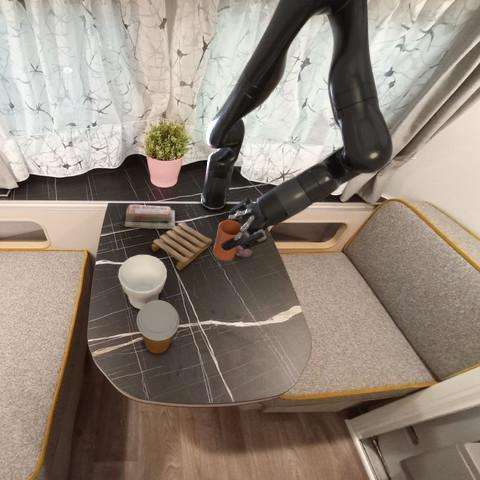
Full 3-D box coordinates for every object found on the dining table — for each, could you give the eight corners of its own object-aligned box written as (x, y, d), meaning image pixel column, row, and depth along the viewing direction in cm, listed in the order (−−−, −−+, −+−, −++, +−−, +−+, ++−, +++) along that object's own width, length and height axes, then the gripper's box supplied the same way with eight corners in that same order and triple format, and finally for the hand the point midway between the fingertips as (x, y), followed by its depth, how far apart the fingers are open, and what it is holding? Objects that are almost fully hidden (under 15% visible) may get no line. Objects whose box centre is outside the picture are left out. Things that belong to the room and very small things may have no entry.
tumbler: (221, 241, 75) (227, 216, 69) (239, 252, 72) (247, 227, 66) (208, 252, 72) (214, 227, 66) (226, 264, 70) (234, 239, 63)
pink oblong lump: (220, 248, 93) (218, 240, 87) (228, 238, 94) (226, 229, 88) (245, 264, 89) (245, 256, 83) (253, 253, 89) (254, 245, 83)
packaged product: (123, 217, 94) (127, 200, 101) (124, 227, 97) (128, 210, 104) (175, 219, 94) (175, 202, 101) (174, 230, 97) (174, 212, 104)
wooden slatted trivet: (182, 226, 99) (183, 220, 96) (211, 244, 92) (212, 238, 90) (151, 249, 90) (151, 242, 88) (180, 271, 84) (181, 264, 82)
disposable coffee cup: (139, 322, 72) (138, 297, 63) (175, 324, 71) (179, 299, 63) (136, 359, 65) (134, 336, 56) (176, 361, 65) (180, 338, 56)
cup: (161, 320, 72) (162, 296, 64) (115, 311, 74) (111, 288, 66) (168, 282, 81) (170, 258, 73) (128, 275, 82) (125, 251, 74)
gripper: (266, 173, 63) (208, 212, 72) (287, 213, 53) (216, 252, 62) (281, 192, 67) (224, 227, 76) (303, 232, 57) (234, 267, 66)
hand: (221, 238), depth 69 cm, fingers closed on tumbler, 6 cm apart
